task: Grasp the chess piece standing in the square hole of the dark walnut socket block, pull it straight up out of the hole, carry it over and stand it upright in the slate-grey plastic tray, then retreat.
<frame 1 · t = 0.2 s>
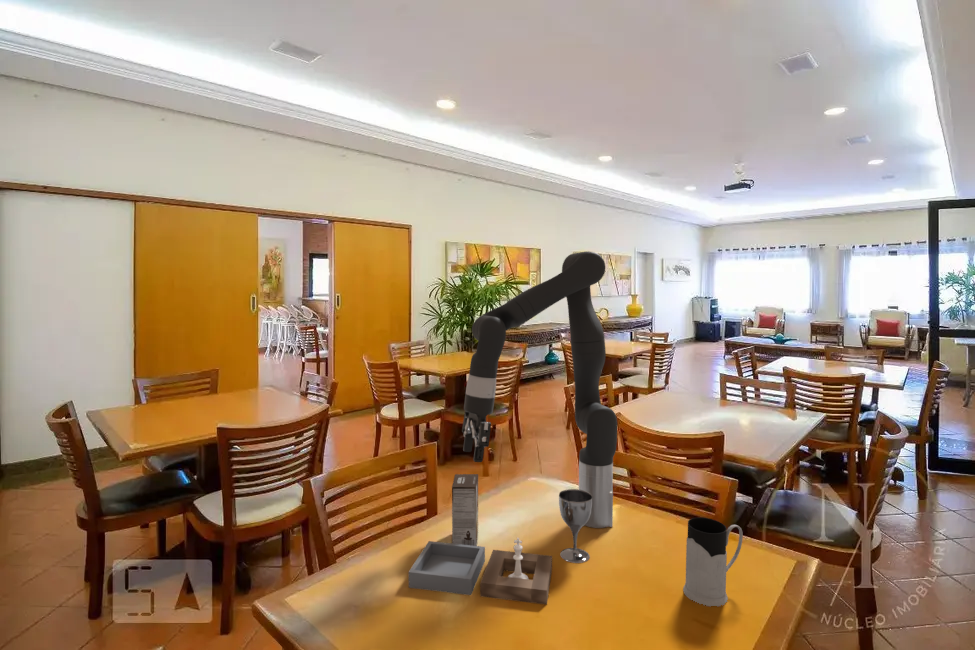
hand: (472, 456, 128), 22 cm above the table, tool pointing down, fingers open, 8 cm apart
coffee box: (465, 541, 130), on the table
chess piece: (518, 582, 112), resting in socket block
socket block: (518, 581, 112), on the table
wine glass: (574, 556, 123), on the table
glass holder: (715, 592, 108), on the table
tray: (448, 573, 115), on the table
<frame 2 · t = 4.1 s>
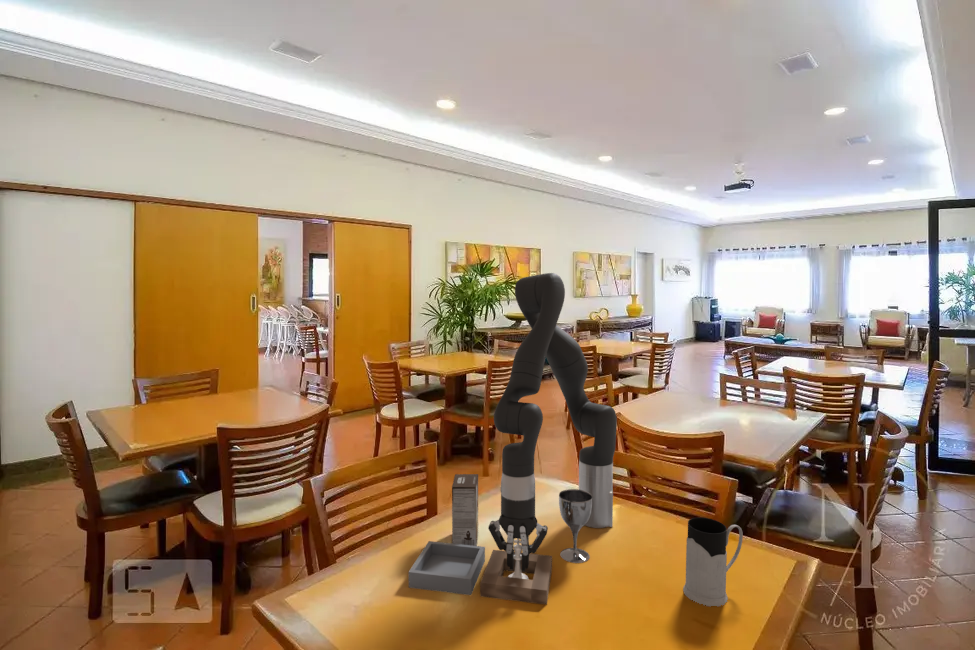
hand: (517, 568, 111), 3 cm above the table, tool pointing down, fingers closed on chess piece
chess piece: (517, 582, 112), resting in socket block, touching gripper
everything else where it was.
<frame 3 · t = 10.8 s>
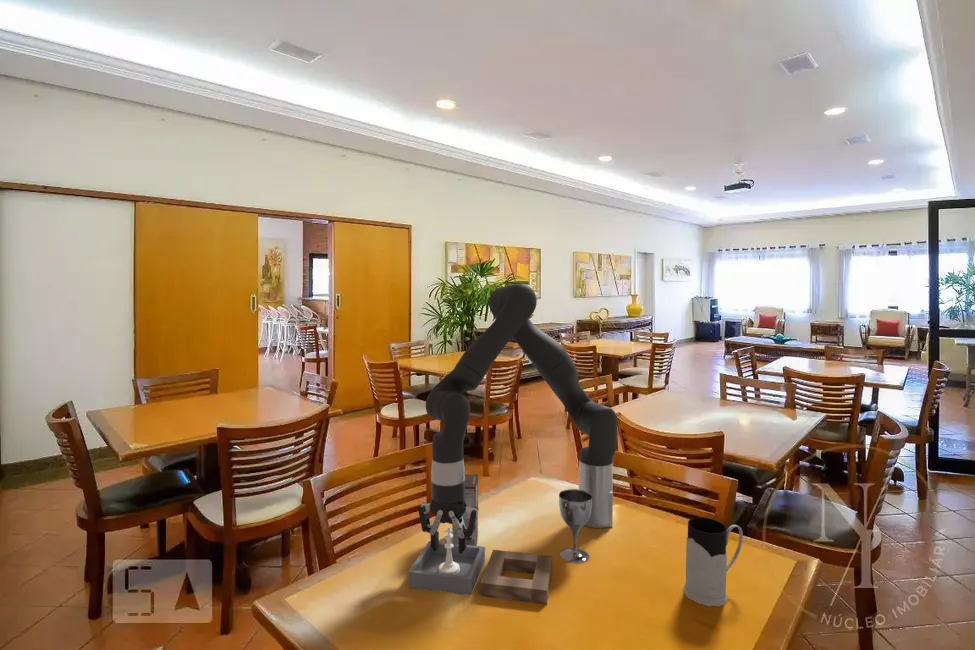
hand: (448, 550, 114), 5 cm above the table, tool pointing down, fingers open, 5 cm apart
chess piece: (449, 570, 115), point 1 cm above the table, touching tray
everything else where it was.
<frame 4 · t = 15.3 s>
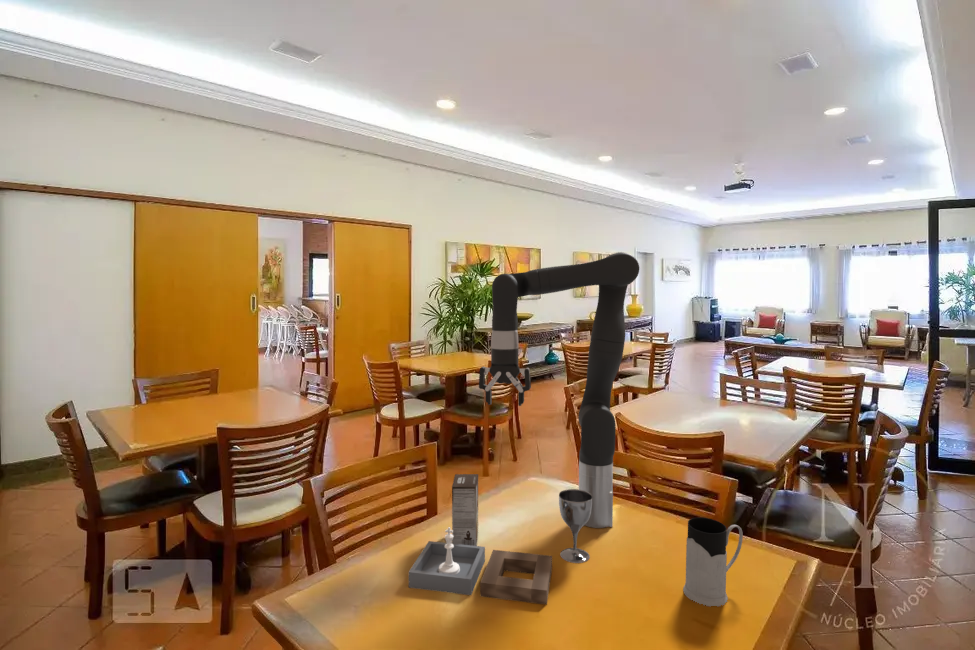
hand: (504, 404, 140), 33 cm above the table, tool pointing down, fingers open, 8 cm apart
nothing on the table moved.
at the end: chess piece inside the target area on the tray (0.1 cm from its centre), point 0.6 cm above the tray's base; chess piece tilted 0°; the gripper is holding nothing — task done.
